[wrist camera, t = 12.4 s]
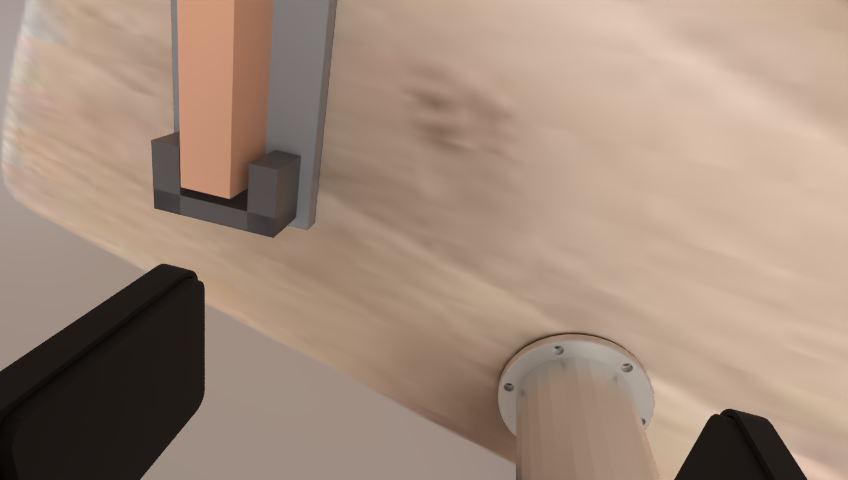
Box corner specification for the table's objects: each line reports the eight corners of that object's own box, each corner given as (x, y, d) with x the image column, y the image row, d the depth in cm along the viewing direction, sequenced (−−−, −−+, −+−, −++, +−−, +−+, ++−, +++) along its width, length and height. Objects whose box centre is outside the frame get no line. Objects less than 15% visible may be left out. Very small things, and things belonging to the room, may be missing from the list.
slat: (225, -152, 30) (173, -184, 25) (281, -141, 29) (238, -172, 25) (220, 167, 38) (180, 187, 33) (263, 178, 38) (229, 199, 33)
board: (180, -219, 30) (164, -231, 29) (355, -188, 29) (348, -199, 28) (187, 192, 41) (176, 197, 40) (314, 223, 40) (307, 230, 39)
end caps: (181, -210, 29) (133, -244, 25) (329, -184, 28) (302, -215, 25) (187, 191, 39) (154, 208, 36) (295, 217, 39) (273, 237, 35)
